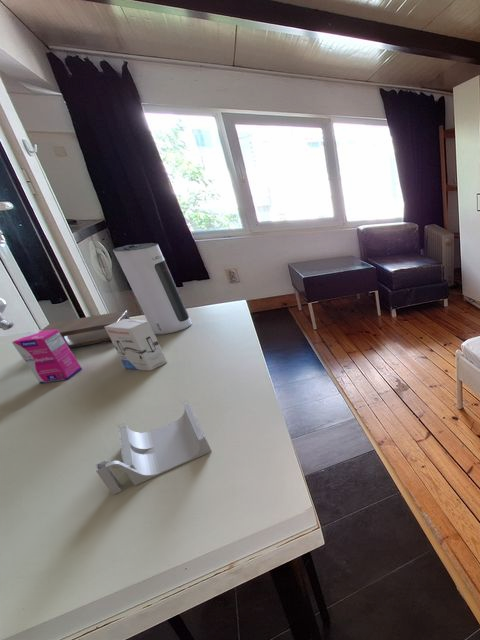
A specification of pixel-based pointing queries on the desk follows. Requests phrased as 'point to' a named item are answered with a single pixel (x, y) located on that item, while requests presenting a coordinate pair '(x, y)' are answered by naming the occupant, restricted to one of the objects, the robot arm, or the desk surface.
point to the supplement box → (47, 355)
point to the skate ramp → (156, 450)
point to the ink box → (136, 344)
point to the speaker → (153, 287)
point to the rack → (86, 328)
